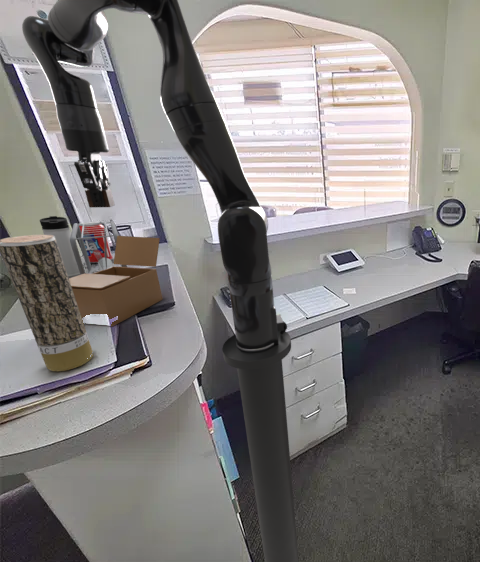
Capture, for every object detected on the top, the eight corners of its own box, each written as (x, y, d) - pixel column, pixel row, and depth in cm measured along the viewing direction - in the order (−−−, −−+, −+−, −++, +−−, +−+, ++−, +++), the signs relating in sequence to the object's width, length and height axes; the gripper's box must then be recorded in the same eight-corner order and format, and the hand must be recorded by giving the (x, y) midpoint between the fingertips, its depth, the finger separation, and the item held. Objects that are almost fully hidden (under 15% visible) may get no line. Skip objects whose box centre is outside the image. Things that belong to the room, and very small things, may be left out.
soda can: (118, 259, 124) (108, 222, 119) (98, 265, 117) (86, 225, 112) (103, 257, 126) (92, 221, 121) (81, 263, 119) (69, 224, 114)
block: (114, 205, 79) (110, 189, 78) (110, 207, 76) (105, 190, 74) (95, 205, 78) (90, 189, 76) (89, 207, 74) (84, 190, 73)
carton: (122, 296, 91) (113, 263, 88) (163, 299, 90) (155, 266, 87) (63, 322, 76) (50, 284, 72) (112, 326, 75) (100, 288, 71)
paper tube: (84, 349, 65) (44, 233, 57) (101, 358, 63) (62, 237, 54) (40, 366, 60) (-12, 239, 51) (57, 377, 57) (6, 245, 48)
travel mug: (83, 272, 109) (66, 215, 102) (84, 277, 105) (66, 218, 98) (59, 275, 105) (39, 216, 98) (58, 281, 101) (37, 219, 94)
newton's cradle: (88, 272, 110) (73, 222, 103) (125, 267, 116) (113, 219, 110) (88, 299, 88) (68, 238, 82) (133, 291, 95) (118, 234, 89)
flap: (113, 264, 88) (114, 264, 88) (155, 266, 87) (156, 266, 87) (117, 235, 89) (118, 235, 89) (159, 238, 88) (159, 238, 88)
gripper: (93, 128, 66) (113, 209, 72) (112, 133, 78) (128, 202, 84) (46, 124, 63) (71, 209, 69) (74, 130, 75) (93, 202, 81)
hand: (102, 205), depth 77 cm, fingers closed on block, 4 cm apart
